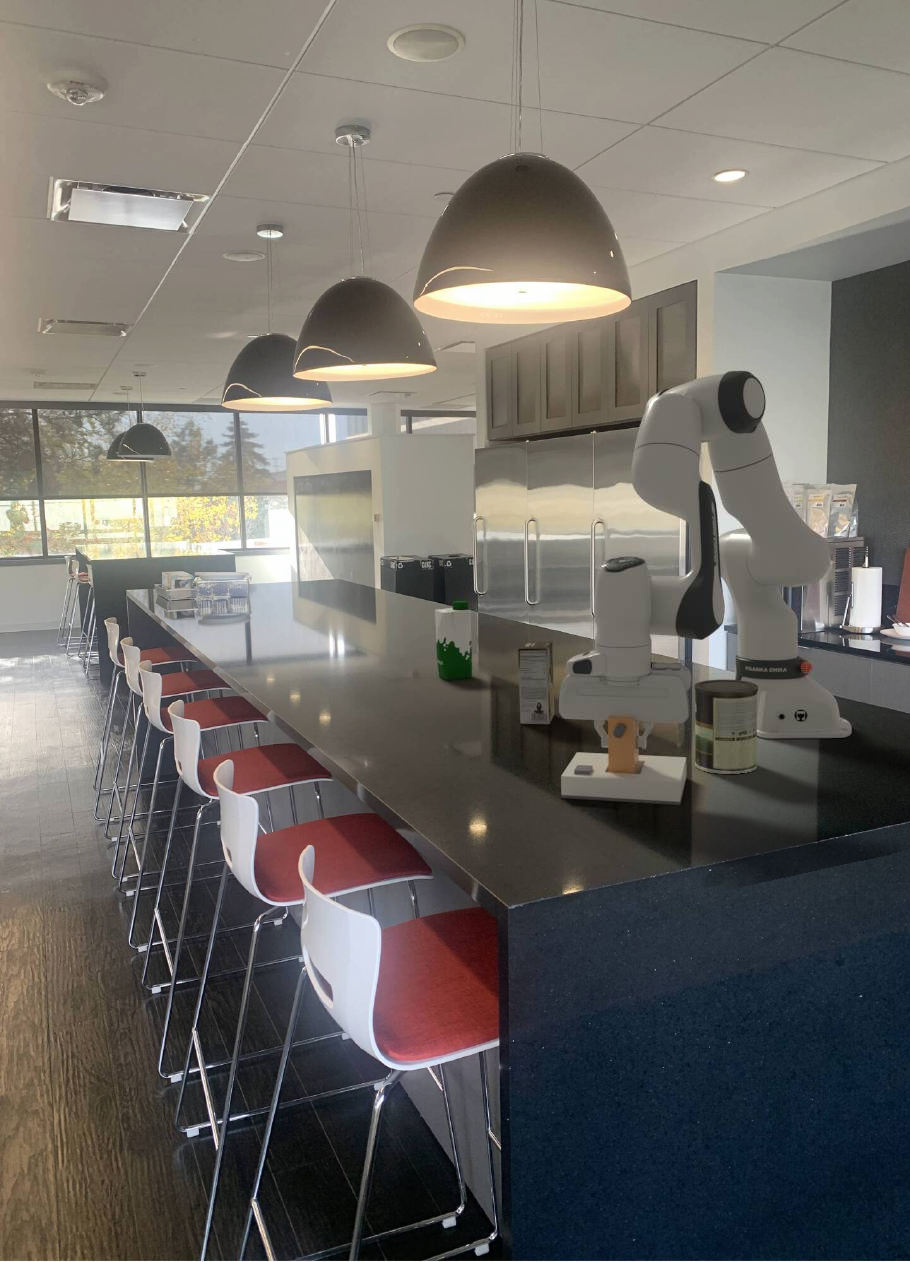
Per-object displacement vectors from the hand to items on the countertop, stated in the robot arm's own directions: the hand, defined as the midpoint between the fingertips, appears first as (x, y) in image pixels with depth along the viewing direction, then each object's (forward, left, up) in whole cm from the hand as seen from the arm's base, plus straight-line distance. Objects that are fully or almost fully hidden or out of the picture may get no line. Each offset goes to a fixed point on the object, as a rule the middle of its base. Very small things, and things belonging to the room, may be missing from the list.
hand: (623, 747), depth 150 cm
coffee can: (-15, -15, -7) cm, 22 cm away
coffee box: (+24, -44, -7) cm, 51 cm away
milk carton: (+56, -88, -7) cm, 104 cm away
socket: (0, 0, -7) cm, 7 cm away
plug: (0, +2, -4) cm, 4 cm away
